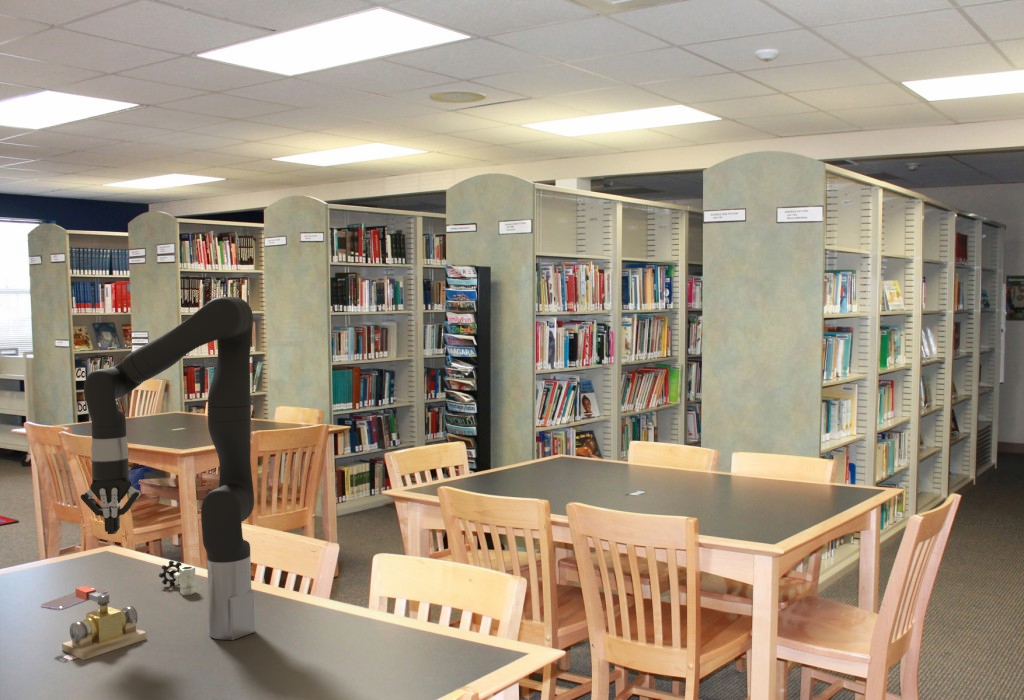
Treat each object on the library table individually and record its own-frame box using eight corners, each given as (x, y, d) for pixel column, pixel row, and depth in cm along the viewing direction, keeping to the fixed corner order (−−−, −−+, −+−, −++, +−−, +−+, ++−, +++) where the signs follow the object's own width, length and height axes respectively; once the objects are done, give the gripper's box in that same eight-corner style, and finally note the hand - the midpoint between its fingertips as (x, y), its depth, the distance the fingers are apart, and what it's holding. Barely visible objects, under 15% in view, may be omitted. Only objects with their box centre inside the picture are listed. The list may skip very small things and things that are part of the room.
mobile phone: (38, 604, 216) (88, 586, 230) (38, 608, 216) (88, 589, 230) (60, 607, 213) (109, 589, 227) (60, 611, 213) (110, 592, 227)
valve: (204, 592, 226) (183, 582, 234) (203, 566, 226) (182, 557, 234) (179, 598, 221) (159, 588, 230) (178, 572, 221) (158, 563, 229)
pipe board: (146, 638, 194) (145, 622, 193) (84, 659, 182) (83, 642, 182) (124, 630, 199) (123, 614, 199) (62, 650, 188) (61, 633, 187)
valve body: (139, 631, 194) (138, 597, 194) (81, 649, 184) (80, 614, 183) (126, 626, 197) (125, 593, 197) (68, 644, 187) (67, 610, 186)
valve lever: (111, 603, 190) (111, 594, 190) (101, 606, 188) (100, 597, 188) (85, 594, 197) (85, 585, 197) (75, 597, 195) (75, 588, 195)
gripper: (72, 461, 192) (75, 539, 193) (136, 458, 194) (138, 536, 195) (84, 455, 199) (86, 530, 200) (145, 453, 201) (147, 527, 202)
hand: (112, 533), depth 197 cm, fingers closed
